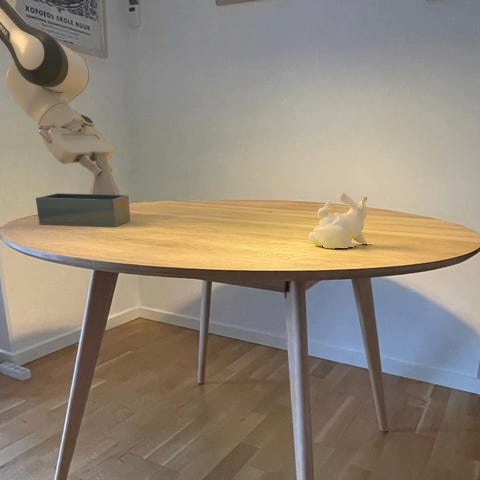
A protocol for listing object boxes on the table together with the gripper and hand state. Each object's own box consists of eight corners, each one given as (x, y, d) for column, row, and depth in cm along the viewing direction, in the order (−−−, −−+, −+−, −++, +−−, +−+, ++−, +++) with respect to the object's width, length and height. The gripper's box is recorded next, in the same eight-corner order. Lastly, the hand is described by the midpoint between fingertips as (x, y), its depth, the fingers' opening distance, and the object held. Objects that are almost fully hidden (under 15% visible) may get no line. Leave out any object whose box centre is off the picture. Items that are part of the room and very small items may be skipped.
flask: (87, 198, 108) (83, 151, 104) (90, 194, 114) (86, 151, 111) (120, 197, 109) (116, 152, 105) (120, 194, 116) (117, 151, 112)
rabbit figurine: (371, 243, 87) (377, 189, 83) (381, 252, 80) (388, 194, 76) (306, 242, 87) (309, 188, 83) (310, 251, 80) (314, 193, 76)
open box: (39, 224, 101) (35, 197, 99) (59, 217, 110) (56, 193, 108) (115, 227, 99) (113, 200, 97) (130, 220, 108) (128, 195, 106)
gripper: (41, 114, 98) (87, 165, 99) (95, 118, 116) (133, 161, 117) (26, 137, 100) (71, 186, 102) (81, 137, 119) (118, 179, 120)
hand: (105, 172), depth 110 cm, fingers closed on flask, 3 cm apart
